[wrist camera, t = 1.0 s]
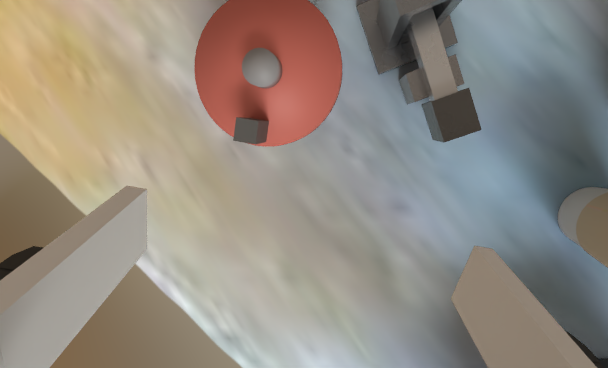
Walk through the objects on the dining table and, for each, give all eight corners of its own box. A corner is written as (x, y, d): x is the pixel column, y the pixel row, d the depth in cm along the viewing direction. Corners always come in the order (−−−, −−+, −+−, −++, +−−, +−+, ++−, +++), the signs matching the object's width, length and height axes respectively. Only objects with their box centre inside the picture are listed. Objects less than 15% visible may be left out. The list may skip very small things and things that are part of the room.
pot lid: (209, -14, 32) (182, -39, 27) (355, 4, 30) (355, -19, 25) (195, 132, 35) (168, 134, 30) (328, 156, 33) (322, 162, 28)
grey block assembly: (466, 82, 38) (523, 62, 25) (390, 110, 40) (406, 105, 27) (434, -27, 37) (476, -108, 24) (356, 8, 39) (356, -50, 26)
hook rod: (465, 128, 35) (489, 130, 29) (432, 139, 36) (449, 143, 30) (412, -43, 33) (426, -83, 27) (379, -28, 34) (385, -63, 27)
